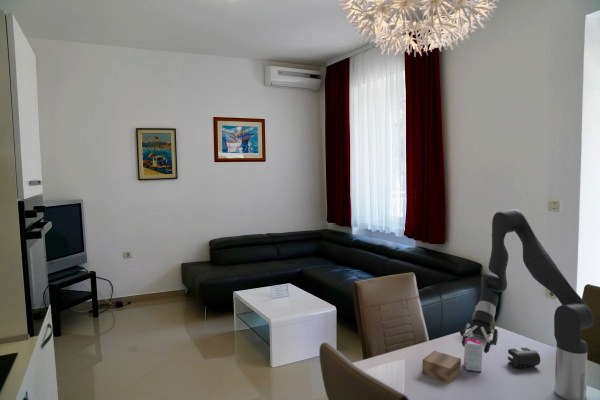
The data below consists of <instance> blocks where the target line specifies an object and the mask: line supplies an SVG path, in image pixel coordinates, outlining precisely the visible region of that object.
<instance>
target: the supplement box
mask: <svg viewBox="0 0 600 400" xmlns="http://www.w3.org/2000/svg"><path fill="white" fill-rule="evenodd" d="M463 357H464V358H463V366H464V369H465V371H466V372H474V373H482V362H483V360H482V359H483V344H482V342H481V340H480V339H476V338H475V339H474V338H468V339H467V338H465V347H464V355H463Z"/></svg>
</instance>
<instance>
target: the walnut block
mask: <svg viewBox="0 0 600 400" xmlns="http://www.w3.org/2000/svg"><path fill="white" fill-rule="evenodd" d="M461 362H462V359H461V358H460V357H456V356H454V355H450V354H447V353H443V352H440V351H438V350H437V351H436V350H433V351H432V352H430V353H429V354H428V355H427V356H425V357H424V358H423V359H422V369H421V370H422V371H421V373H422V375H424V376H428V377H430V378H434V379H437V380H439V381H442V382H445V383H448V384H451V382H453V380H454V379H456V378H457V377H458V376H459V375H460V373H461V370H462V368H461V367H462V366H461V365H462V363H461Z"/></svg>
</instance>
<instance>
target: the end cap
mask: <svg viewBox="0 0 600 400" xmlns="http://www.w3.org/2000/svg"><path fill="white" fill-rule="evenodd" d="M507 350H508V351H507V353H508V356H507V362H508V365H510V366H511V367H512V368H514V369H517V368H518V369H519V368H529V367H537V366H539V365H540V363H541V357H540V354H539V352H538V351H537V350H535V349H534V350H533V349H532V350H531V349H529V348H528V347H521V348H520V350H517V349H516V348H509V349H507ZM509 355H511V356H509Z"/></svg>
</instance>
